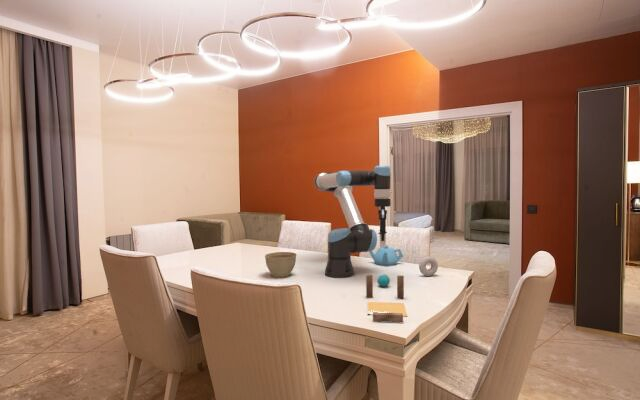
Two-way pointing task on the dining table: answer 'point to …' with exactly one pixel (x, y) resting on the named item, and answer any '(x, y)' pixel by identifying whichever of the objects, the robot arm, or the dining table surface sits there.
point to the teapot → (386, 256)
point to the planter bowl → (280, 263)
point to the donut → (424, 262)
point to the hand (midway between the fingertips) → (382, 247)
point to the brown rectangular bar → (388, 317)
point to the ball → (383, 280)
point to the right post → (400, 287)
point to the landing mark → (387, 307)
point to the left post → (369, 286)
